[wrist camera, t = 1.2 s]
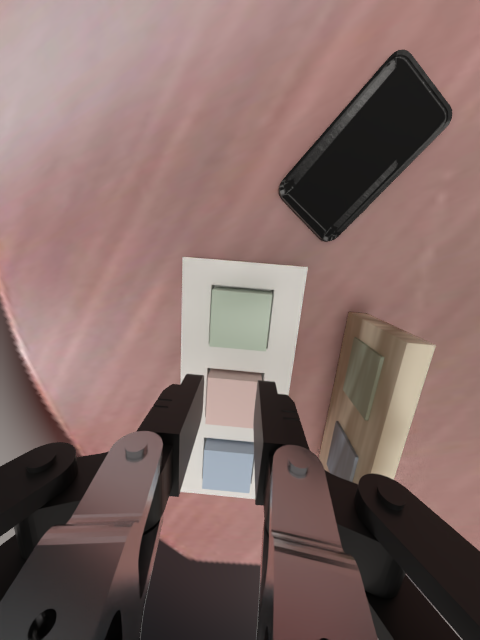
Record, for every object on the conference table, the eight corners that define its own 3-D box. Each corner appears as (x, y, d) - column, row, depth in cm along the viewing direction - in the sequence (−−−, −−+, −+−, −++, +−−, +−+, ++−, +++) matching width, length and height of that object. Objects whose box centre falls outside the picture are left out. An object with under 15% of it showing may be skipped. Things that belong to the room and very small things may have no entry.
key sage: (269, 291, 24) (272, 295, 21) (264, 342, 26) (265, 351, 23) (216, 286, 24) (211, 289, 22) (213, 337, 26) (209, 346, 23)
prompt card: (366, 313, 26) (435, 345, 16) (333, 458, 31) (372, 548, 22) (345, 311, 26) (402, 342, 16) (316, 456, 31) (347, 545, 22)
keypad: (301, 266, 25) (307, 267, 22) (270, 479, 32) (272, 500, 30) (190, 257, 25) (182, 256, 22) (184, 470, 33) (178, 491, 30)
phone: (274, 188, 23) (402, 41, 19) (273, 192, 24) (394, 53, 21) (329, 246, 24) (458, 116, 21) (325, 247, 25) (448, 123, 22)
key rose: (260, 370, 26) (262, 382, 24) (256, 412, 28) (256, 428, 25) (211, 365, 26) (207, 377, 24) (209, 408, 28) (205, 424, 25)
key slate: (253, 436, 29) (253, 454, 26) (249, 473, 30) (249, 493, 27) (208, 432, 29) (204, 449, 26) (206, 468, 30) (202, 488, 28)
